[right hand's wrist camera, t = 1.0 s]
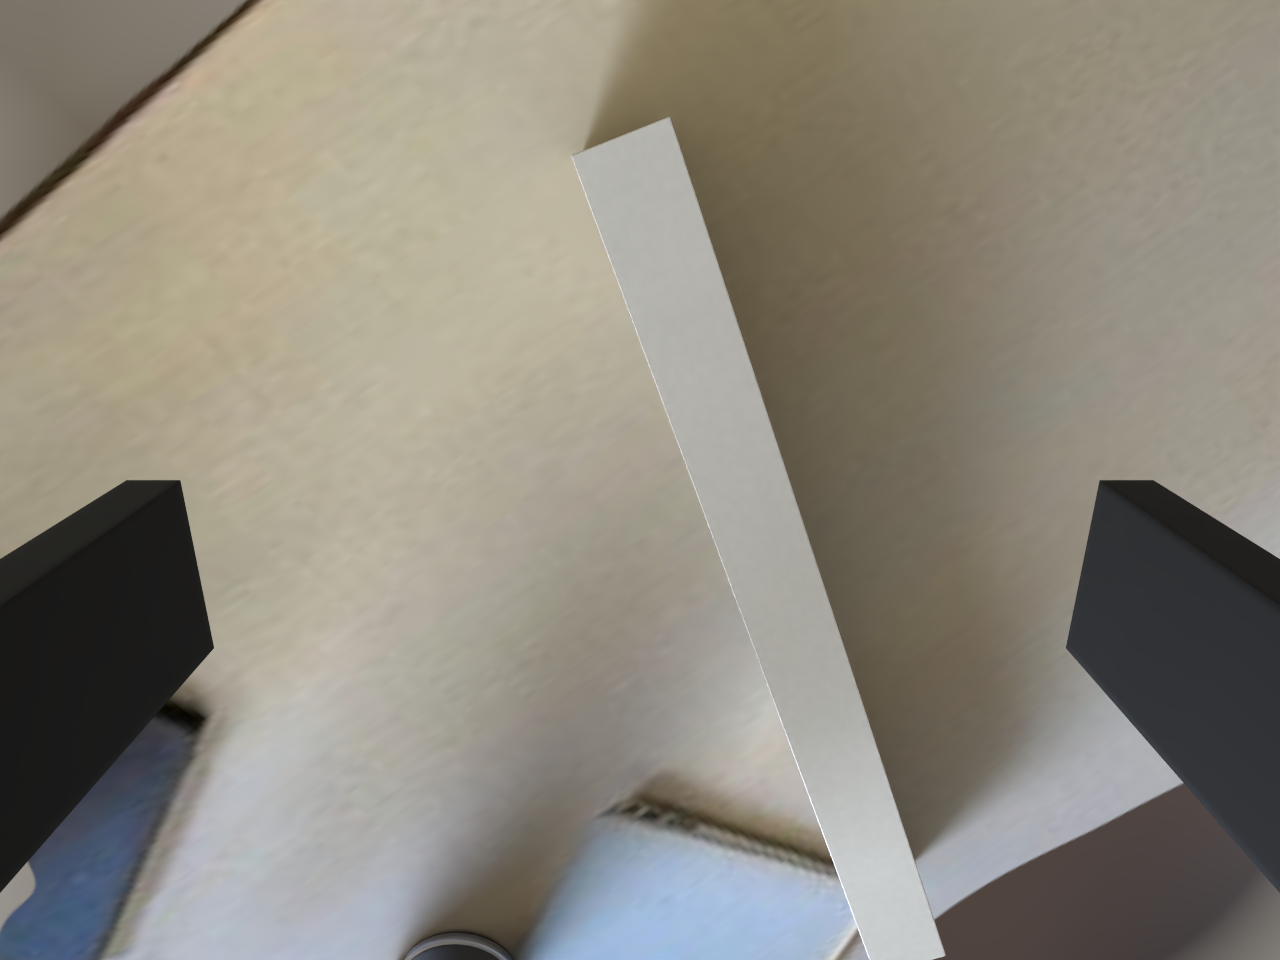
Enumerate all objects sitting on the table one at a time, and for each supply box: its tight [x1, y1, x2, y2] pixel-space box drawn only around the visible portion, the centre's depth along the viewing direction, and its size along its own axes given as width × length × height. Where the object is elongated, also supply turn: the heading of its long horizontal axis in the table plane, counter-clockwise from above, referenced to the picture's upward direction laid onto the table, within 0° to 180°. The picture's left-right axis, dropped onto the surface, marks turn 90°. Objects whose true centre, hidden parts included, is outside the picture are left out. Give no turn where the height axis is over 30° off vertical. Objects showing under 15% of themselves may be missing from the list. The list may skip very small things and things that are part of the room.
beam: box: [571, 117, 945, 960], centre depth 53 cm, size 56×5×8 cm, turn 20°
